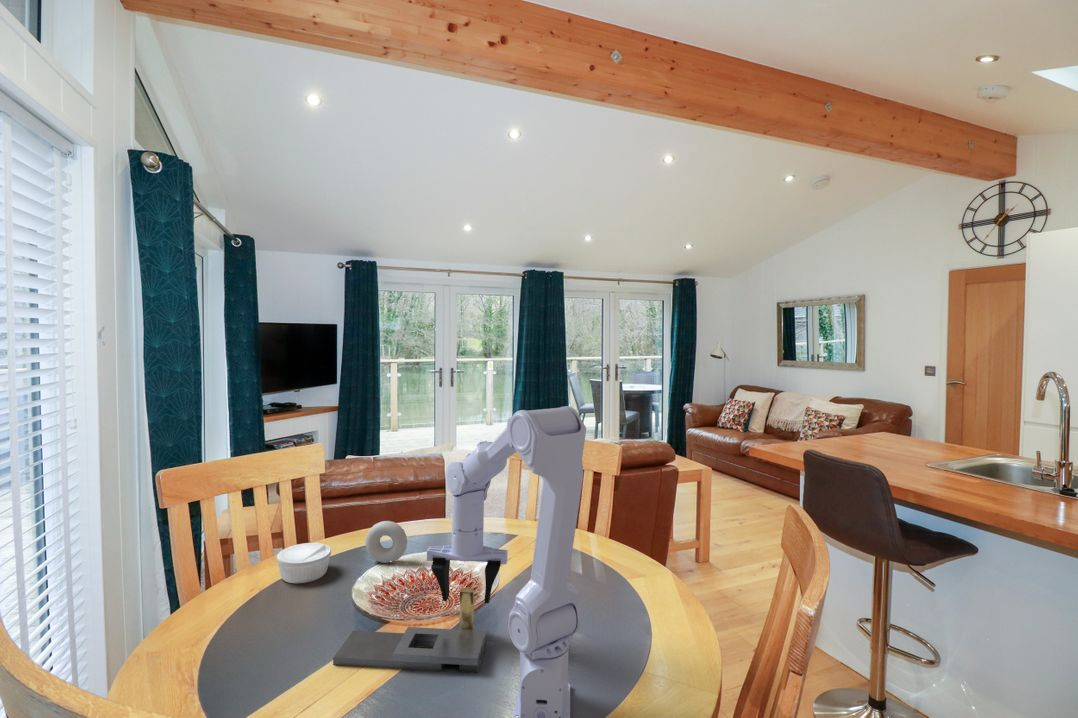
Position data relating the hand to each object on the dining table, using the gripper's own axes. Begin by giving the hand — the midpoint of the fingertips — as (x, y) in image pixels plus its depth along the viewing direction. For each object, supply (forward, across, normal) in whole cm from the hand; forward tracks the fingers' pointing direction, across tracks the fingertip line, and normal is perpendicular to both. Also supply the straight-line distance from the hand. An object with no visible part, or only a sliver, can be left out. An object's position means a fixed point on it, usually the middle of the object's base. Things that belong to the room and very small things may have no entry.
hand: (466, 599), depth 96 cm
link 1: (+6, +11, +7) cm, 14 cm away
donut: (+7, +25, -28) cm, 38 cm away
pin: (+6, 0, 0) cm, 6 cm away
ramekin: (+7, +41, -20) cm, 46 cm away
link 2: (+6, +3, +7) cm, 10 cm away
